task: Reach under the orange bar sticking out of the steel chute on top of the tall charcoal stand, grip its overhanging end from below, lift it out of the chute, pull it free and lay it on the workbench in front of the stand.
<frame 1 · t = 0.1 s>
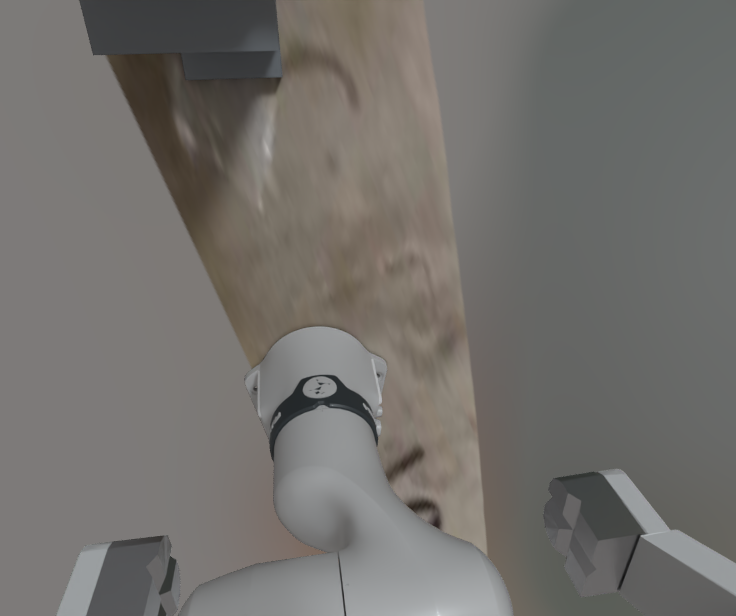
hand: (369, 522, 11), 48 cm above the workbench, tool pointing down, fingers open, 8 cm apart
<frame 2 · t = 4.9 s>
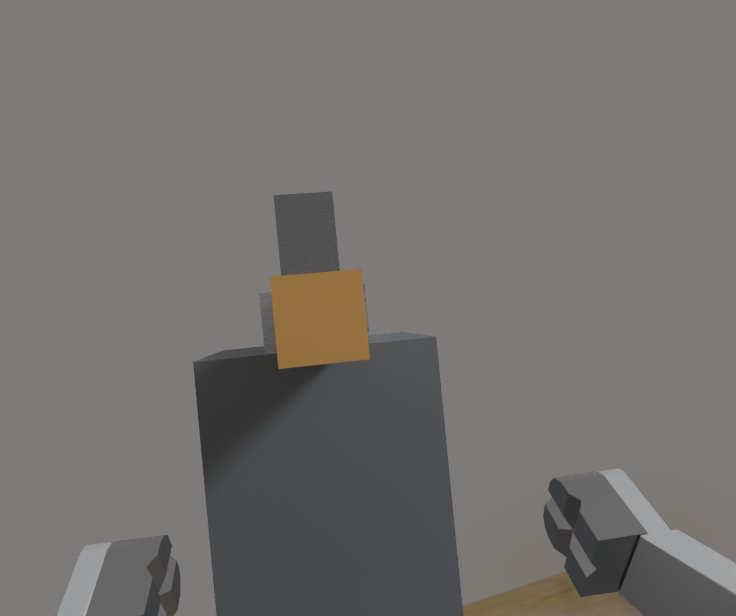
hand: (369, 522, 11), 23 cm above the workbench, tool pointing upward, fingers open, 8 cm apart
bar: (318, 348, 25), point 26 cm above the workbench, touching stand
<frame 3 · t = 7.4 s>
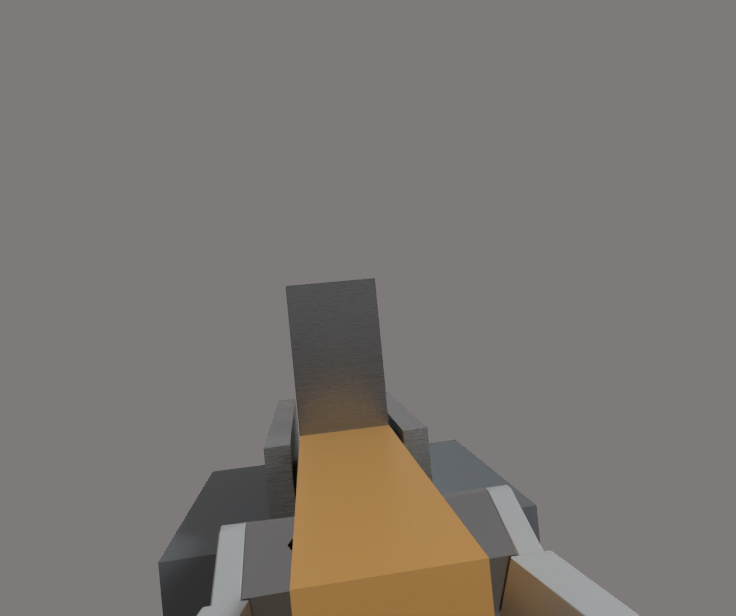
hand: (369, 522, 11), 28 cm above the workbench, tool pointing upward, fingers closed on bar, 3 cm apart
bar: (356, 532, 16), point 26 cm above the workbench, touching gripper
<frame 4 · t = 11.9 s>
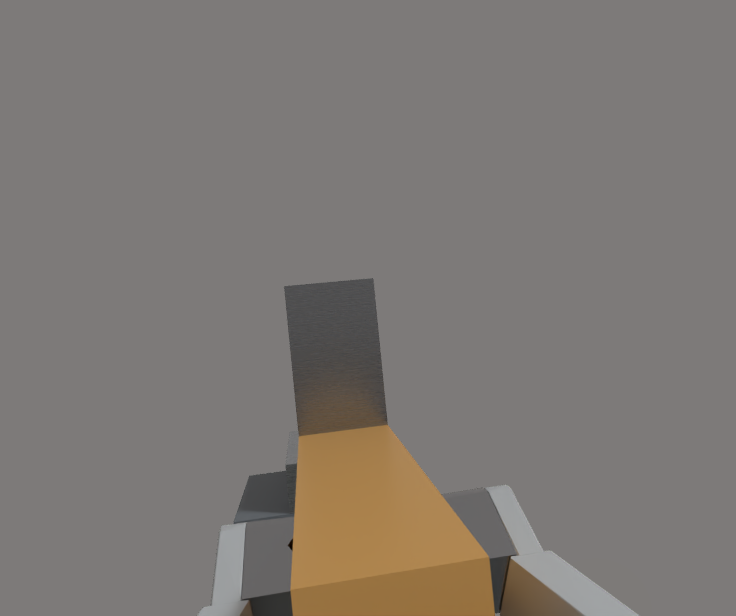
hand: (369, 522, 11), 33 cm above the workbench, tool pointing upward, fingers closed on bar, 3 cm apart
bar: (355, 532, 16), point 31 cm above the workbench, touching gripper
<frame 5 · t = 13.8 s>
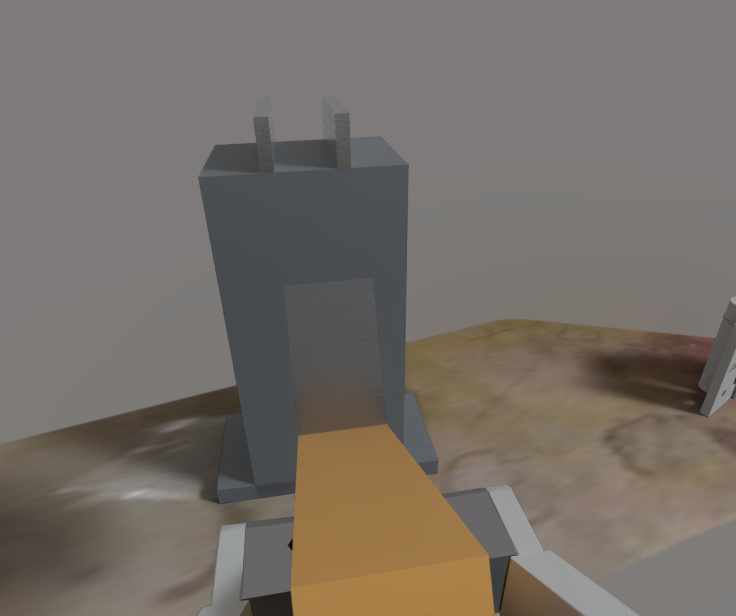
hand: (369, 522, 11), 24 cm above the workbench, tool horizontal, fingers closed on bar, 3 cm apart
bar: (354, 531, 16), point 19 cm above the workbench, tilted 30°, touching gripper
stand: (326, 448, 45), on the workbench
when the fingers open (11 cm above the workbench, at t = 16.4 s): bar drops 6 cm, on the workbench.
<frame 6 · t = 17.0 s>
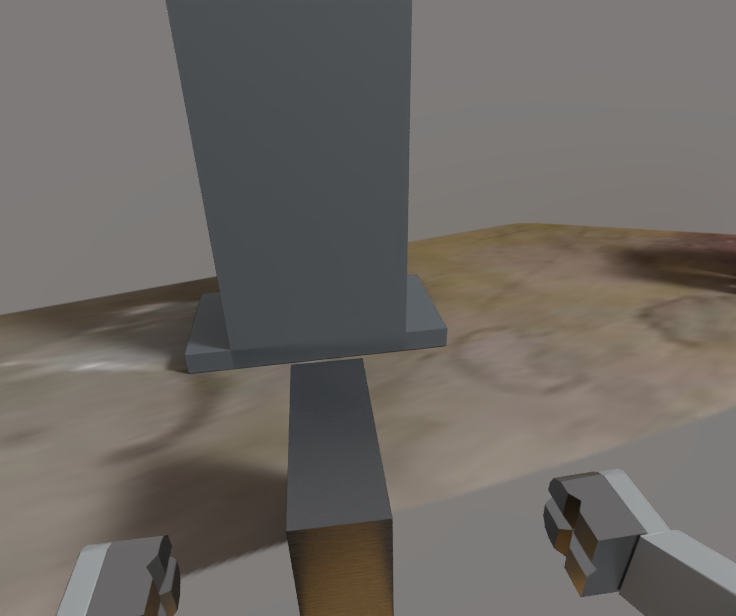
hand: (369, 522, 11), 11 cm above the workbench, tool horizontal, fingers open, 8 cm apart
stand: (317, 326, 39), on the workbench
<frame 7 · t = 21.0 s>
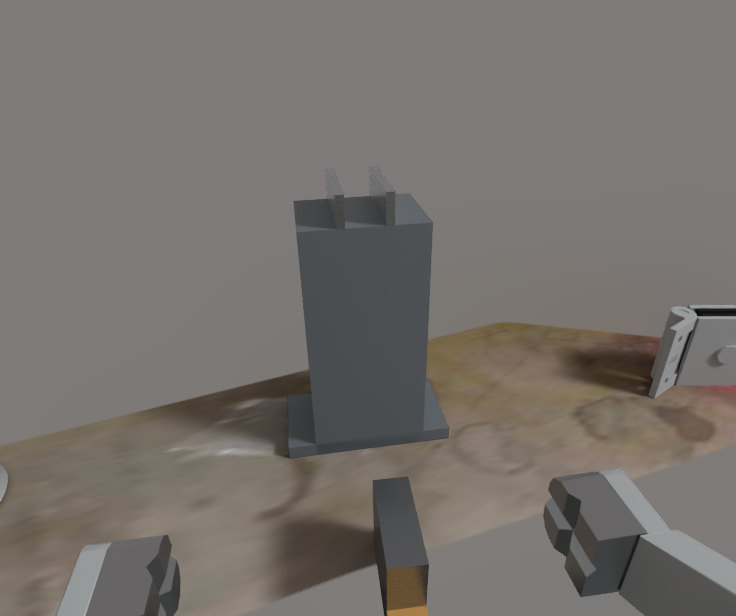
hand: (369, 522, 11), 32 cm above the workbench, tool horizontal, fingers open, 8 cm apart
hinge: (688, 384, 66), on the workbench
stand: (364, 420, 60), on the workbench
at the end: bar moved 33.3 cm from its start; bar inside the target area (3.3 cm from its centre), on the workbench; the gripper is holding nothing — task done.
